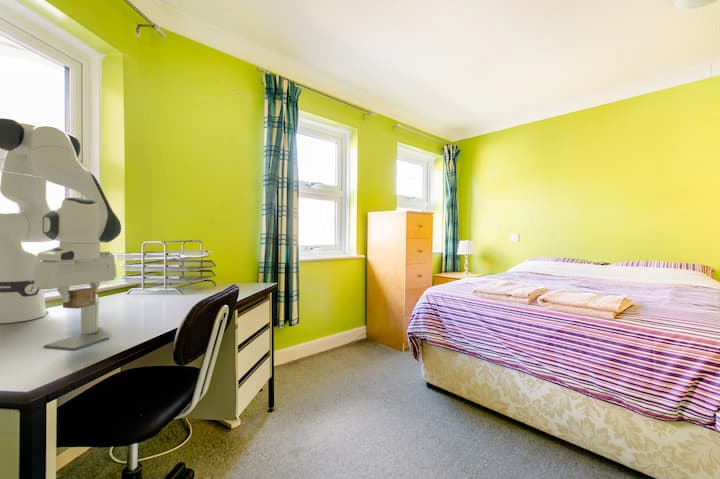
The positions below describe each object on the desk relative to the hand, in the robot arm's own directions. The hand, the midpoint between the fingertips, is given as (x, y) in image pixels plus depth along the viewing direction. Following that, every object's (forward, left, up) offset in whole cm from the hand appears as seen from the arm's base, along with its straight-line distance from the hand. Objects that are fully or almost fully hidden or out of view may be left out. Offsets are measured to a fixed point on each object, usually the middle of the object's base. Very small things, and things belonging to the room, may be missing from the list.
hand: (79, 299), depth 89 cm
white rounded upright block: (-8, +10, -13) cm, 18 cm away
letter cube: (0, 0, -2) cm, 2 cm away
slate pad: (0, 0, -13) cm, 13 cm away
